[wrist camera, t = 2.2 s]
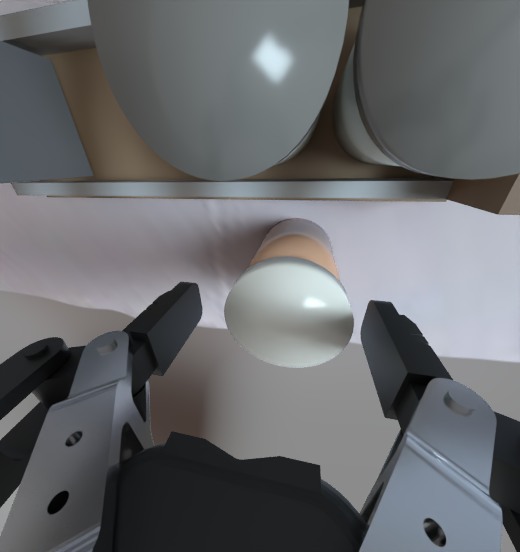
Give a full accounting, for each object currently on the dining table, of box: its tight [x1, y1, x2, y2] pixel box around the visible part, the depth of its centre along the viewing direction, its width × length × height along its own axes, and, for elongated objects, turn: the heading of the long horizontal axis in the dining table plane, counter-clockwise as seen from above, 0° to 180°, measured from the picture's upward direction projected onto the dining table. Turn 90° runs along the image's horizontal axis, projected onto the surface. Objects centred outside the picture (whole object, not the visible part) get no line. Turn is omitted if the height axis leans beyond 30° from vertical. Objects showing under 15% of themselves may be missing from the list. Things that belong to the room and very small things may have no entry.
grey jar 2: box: [332, 0, 520, 180], centre depth 7 cm, size 6×6×8 cm
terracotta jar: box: [224, 219, 354, 368], centre depth 12 cm, size 6×6×8 cm
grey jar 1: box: [87, 0, 349, 181], centre depth 8 cm, size 6×6×8 cm
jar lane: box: [0, 0, 520, 215], centre depth 10 cm, size 28×9×6 cm, turn 91°
